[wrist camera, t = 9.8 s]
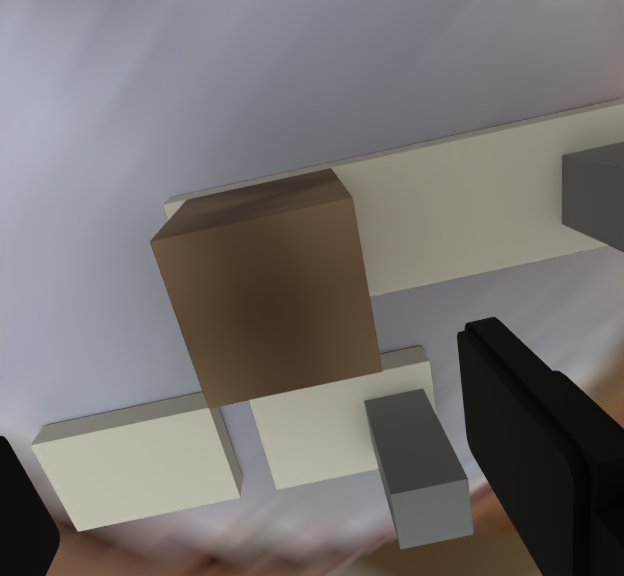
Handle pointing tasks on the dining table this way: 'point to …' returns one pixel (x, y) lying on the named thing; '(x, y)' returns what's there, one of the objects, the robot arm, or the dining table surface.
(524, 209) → the cream strip
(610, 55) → the dining table surface
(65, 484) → the broken strip
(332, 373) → the walnut cube
